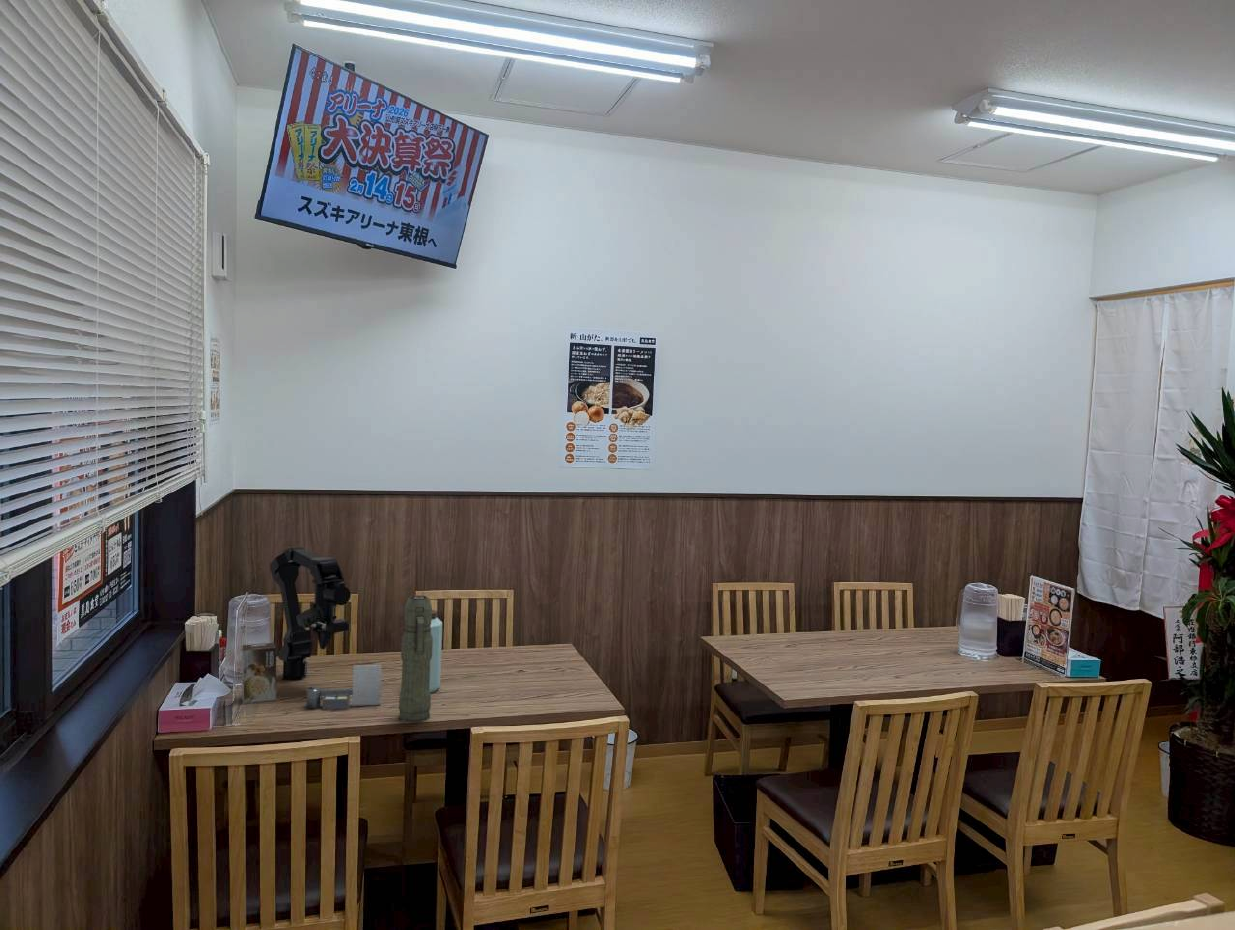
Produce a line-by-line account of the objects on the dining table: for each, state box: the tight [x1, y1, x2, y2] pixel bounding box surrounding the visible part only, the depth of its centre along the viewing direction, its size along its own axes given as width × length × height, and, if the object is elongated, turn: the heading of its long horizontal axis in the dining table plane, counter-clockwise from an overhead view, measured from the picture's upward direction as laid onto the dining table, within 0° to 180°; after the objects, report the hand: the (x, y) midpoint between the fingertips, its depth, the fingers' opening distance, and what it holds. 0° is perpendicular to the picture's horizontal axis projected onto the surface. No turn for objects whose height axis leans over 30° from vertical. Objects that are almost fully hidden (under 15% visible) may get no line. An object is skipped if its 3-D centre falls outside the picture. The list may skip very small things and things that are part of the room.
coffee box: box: [241, 642, 277, 704], centre depth 249 cm, size 9×6×16 cm
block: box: [322, 695, 351, 711], centre depth 246 cm, size 7×4×3 cm, turn 99°
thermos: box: [398, 595, 433, 723], centre depth 240 cm, size 9×12×35 cm
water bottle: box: [429, 609, 443, 694], centre depth 265 cm, size 10×10×25 cm
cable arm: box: [305, 664, 383, 710], centre depth 247 cm, size 21×4×12 cm, turn 104°
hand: (322, 649), depth 259 cm, fingers closed
